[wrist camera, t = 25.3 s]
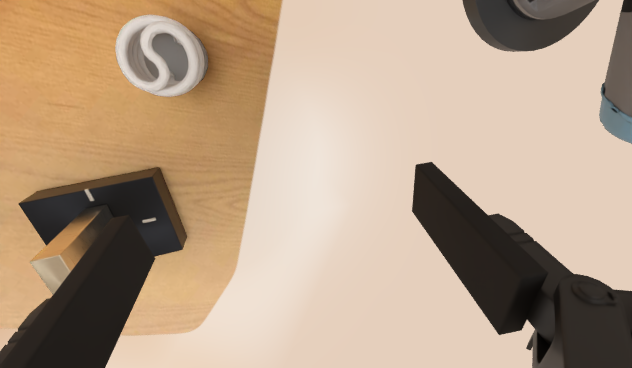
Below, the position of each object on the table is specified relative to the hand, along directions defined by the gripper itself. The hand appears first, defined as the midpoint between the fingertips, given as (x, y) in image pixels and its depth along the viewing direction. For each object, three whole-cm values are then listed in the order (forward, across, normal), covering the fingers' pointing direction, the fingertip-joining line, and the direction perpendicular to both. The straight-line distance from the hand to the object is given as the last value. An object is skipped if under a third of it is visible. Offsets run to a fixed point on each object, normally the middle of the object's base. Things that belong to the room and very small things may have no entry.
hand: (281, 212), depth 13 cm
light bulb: (+23, -8, +5) cm, 25 cm away
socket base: (+20, -21, -11) cm, 31 cm away
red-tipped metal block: (+17, -21, -10) cm, 29 cm away
